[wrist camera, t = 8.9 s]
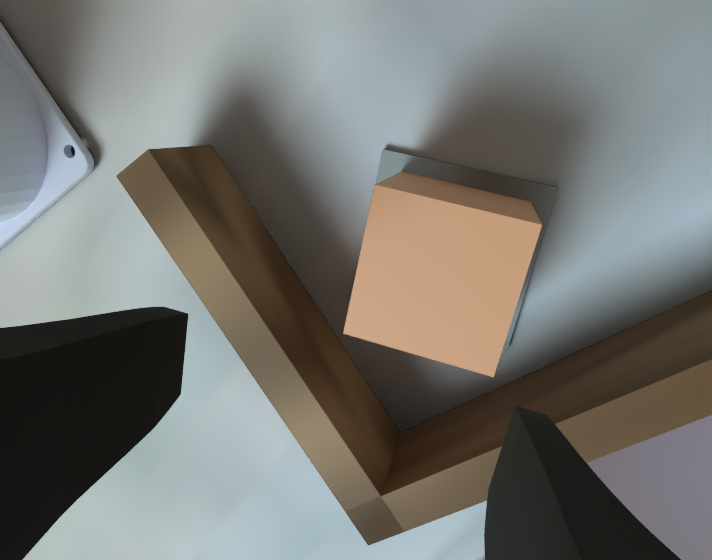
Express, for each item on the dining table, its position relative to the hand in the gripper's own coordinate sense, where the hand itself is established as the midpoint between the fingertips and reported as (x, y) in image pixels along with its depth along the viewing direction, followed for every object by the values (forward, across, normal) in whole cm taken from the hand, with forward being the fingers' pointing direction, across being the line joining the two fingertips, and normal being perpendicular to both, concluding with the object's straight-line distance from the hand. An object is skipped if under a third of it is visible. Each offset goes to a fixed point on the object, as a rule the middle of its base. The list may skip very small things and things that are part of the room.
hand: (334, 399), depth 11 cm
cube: (+9, -1, -2) cm, 9 cm away
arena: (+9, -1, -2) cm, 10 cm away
